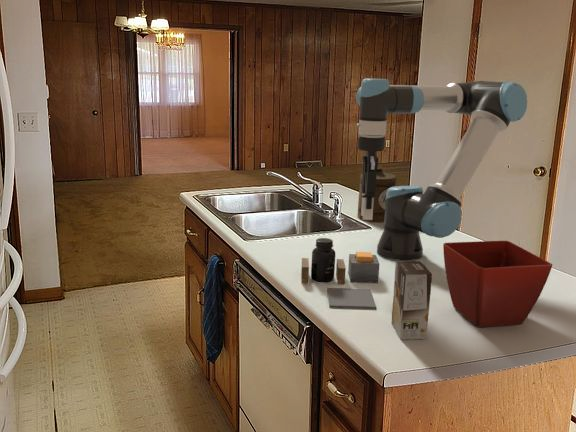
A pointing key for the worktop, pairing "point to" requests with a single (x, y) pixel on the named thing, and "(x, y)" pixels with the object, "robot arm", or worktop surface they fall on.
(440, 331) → the worktop surface
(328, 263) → the supplement bottle
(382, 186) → the wooden container
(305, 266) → the block
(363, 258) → the plunger
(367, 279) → the plunger housing
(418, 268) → the coffee box
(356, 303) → the mat
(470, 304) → the plant pot
